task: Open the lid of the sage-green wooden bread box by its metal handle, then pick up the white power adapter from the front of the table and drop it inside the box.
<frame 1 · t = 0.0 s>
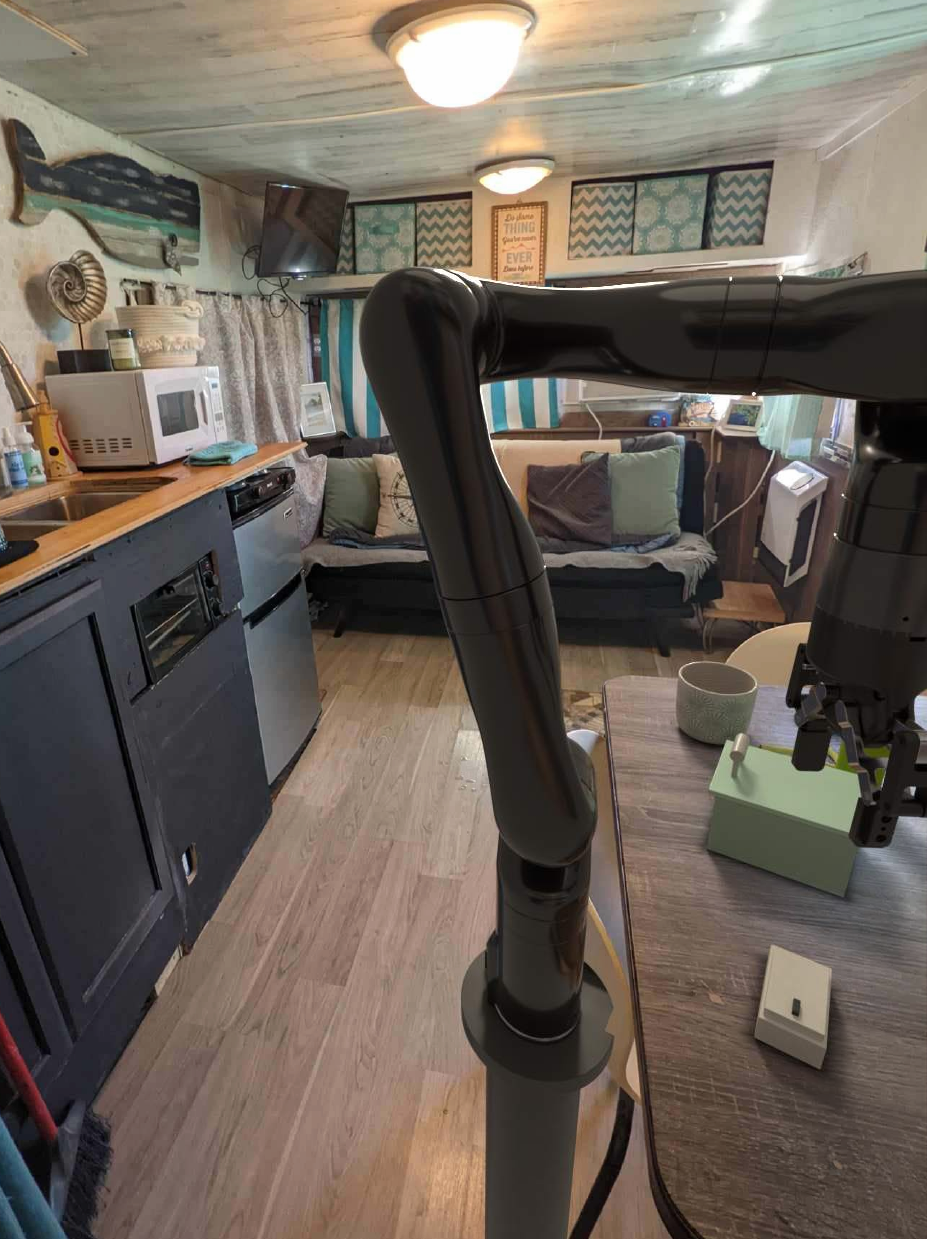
hand: (834, 803, 48), 33 cm above the table, tool pointing down, fingers open, 8 cm apart
lid: (788, 771, 85), point 11 cm above the table, hinge at 0.0°
vape: (850, 801, 96), on the table
white power adapter: (791, 1012, 66), on the table
utensil holder: (820, 725, 114), on the table
key: (800, 759, 105), on the table
planter: (709, 732, 114), on the table
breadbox: (777, 840, 89), on the table
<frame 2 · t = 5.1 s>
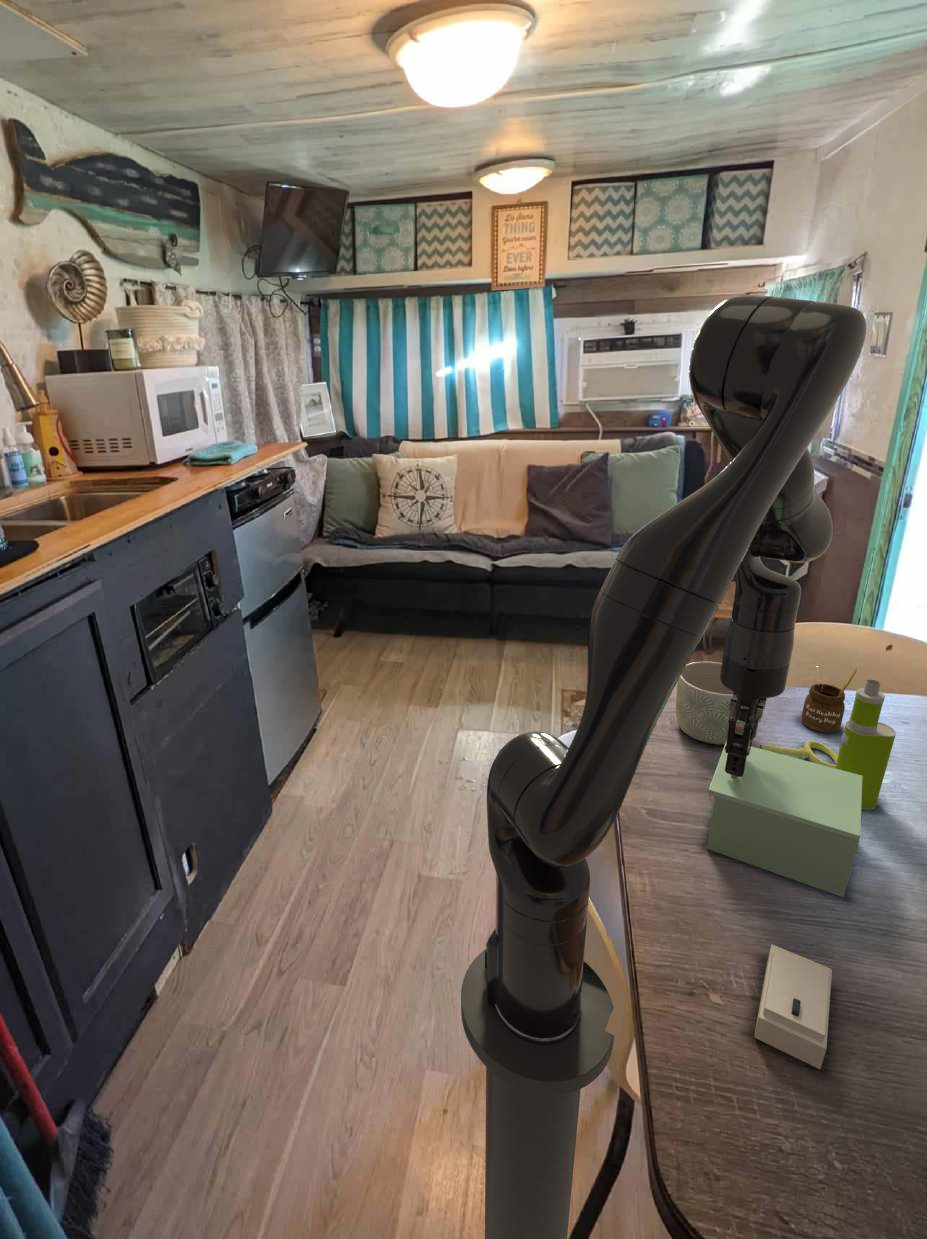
hand: (737, 762, 89), 11 cm above the table, tool pointing down, fingers closed on lid, 5 cm apart
lid: (788, 771, 85), point 11 cm above the table, hinge at -0.1°, touching gripper
everything else where it was.
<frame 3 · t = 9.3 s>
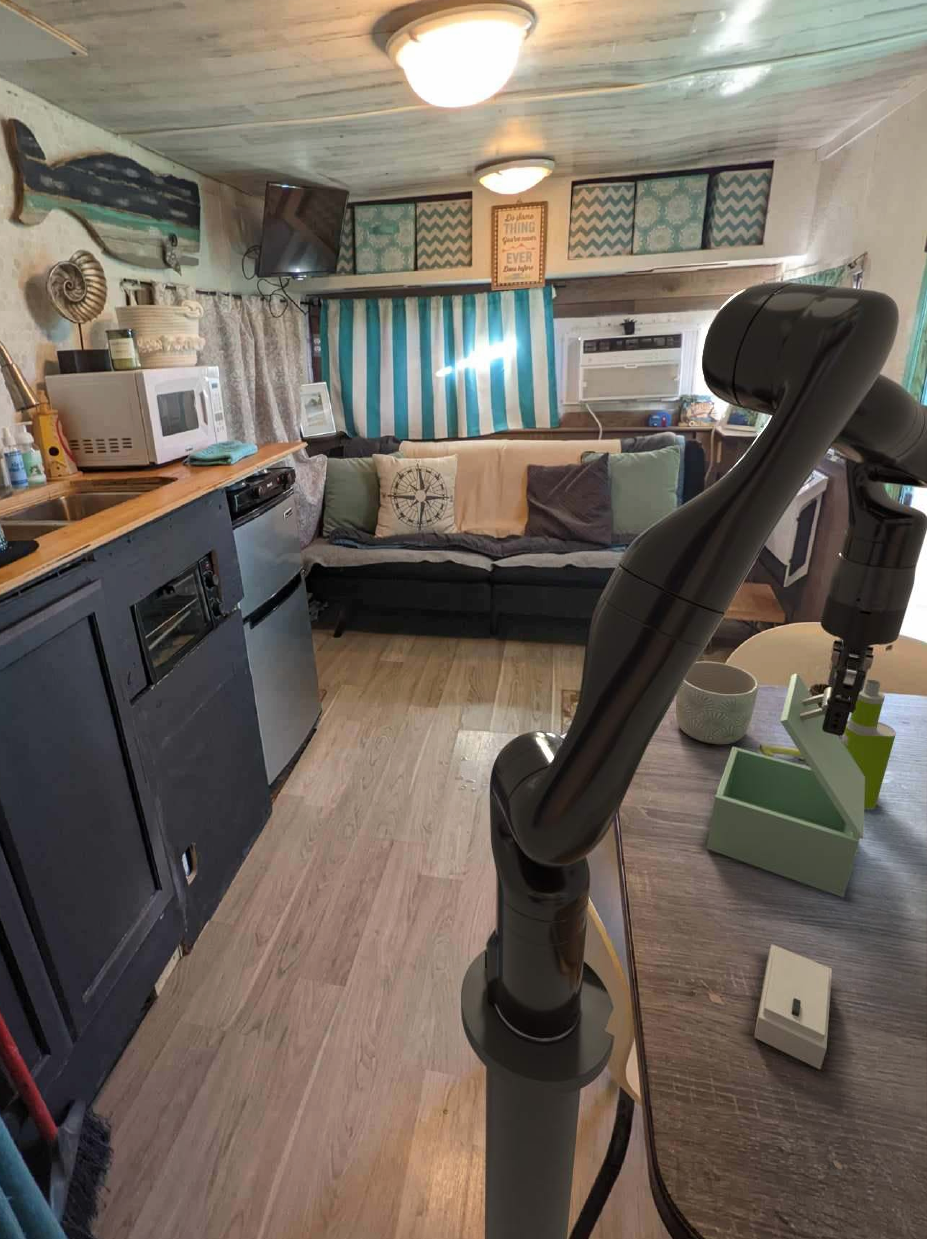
hand: (833, 721, 80), 20 cm above the table, tool pointing down, fingers closed on lid, 5 cm apart
lid: (843, 746, 80), point 17 cm above the table, hinge at 53.5°, touching gripper
everything else where it was.
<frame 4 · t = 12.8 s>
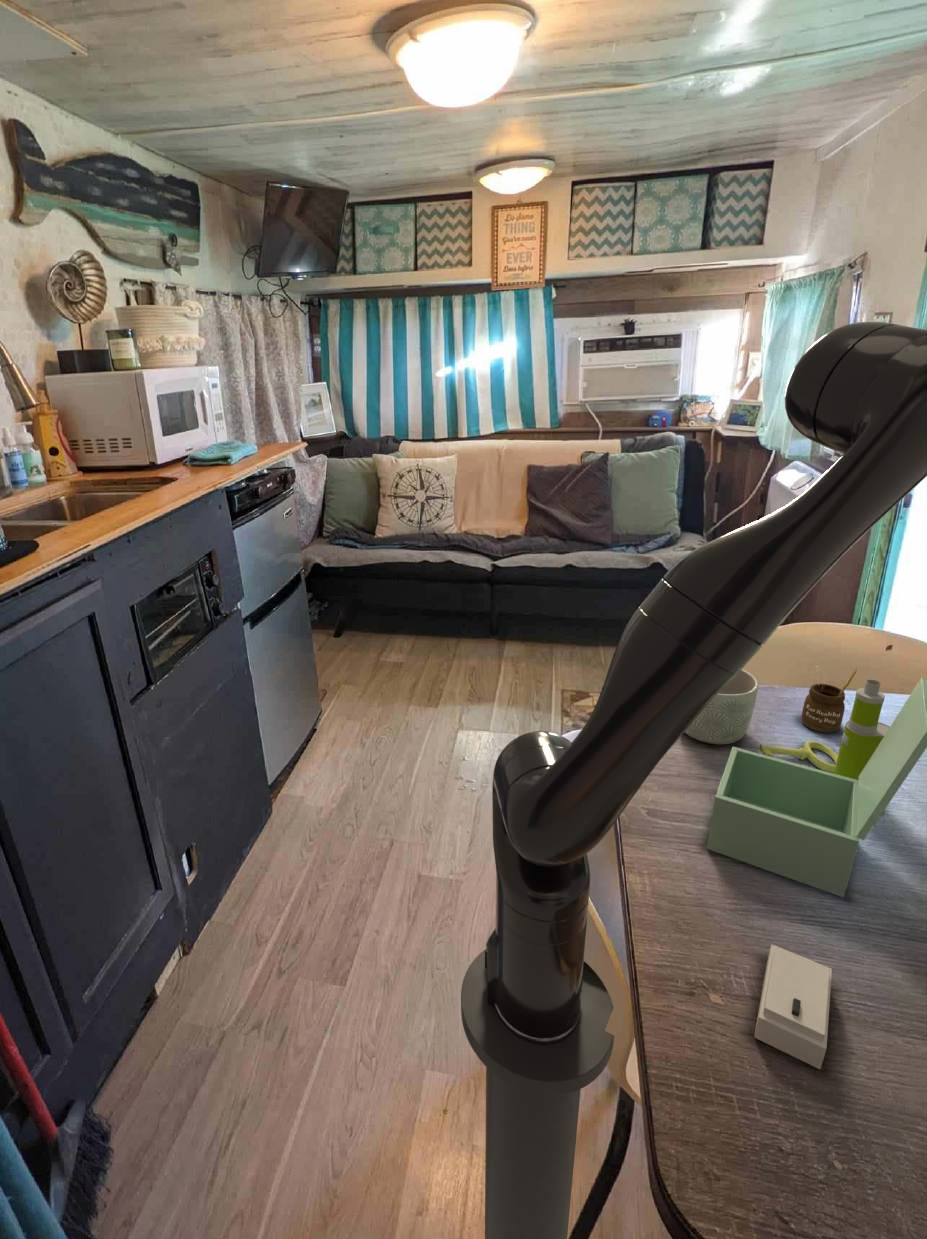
lid: (914, 766, 76), point 17 cm above the table, hinge at 102.1°, touching gripper
everything else where it was.
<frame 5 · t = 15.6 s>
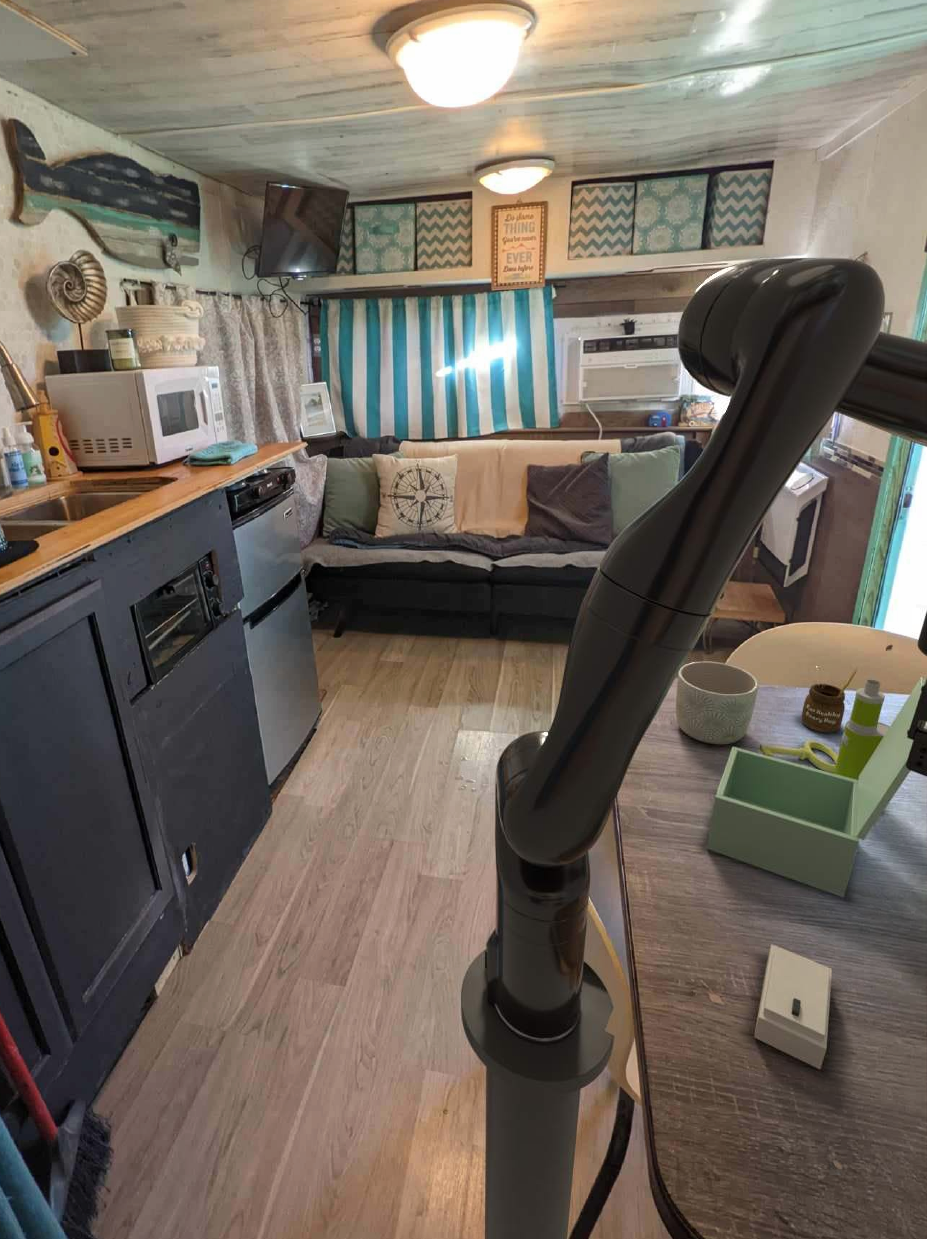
lid: (914, 766, 76), point 17 cm above the table, hinge at 102.0°
everything else where it was.
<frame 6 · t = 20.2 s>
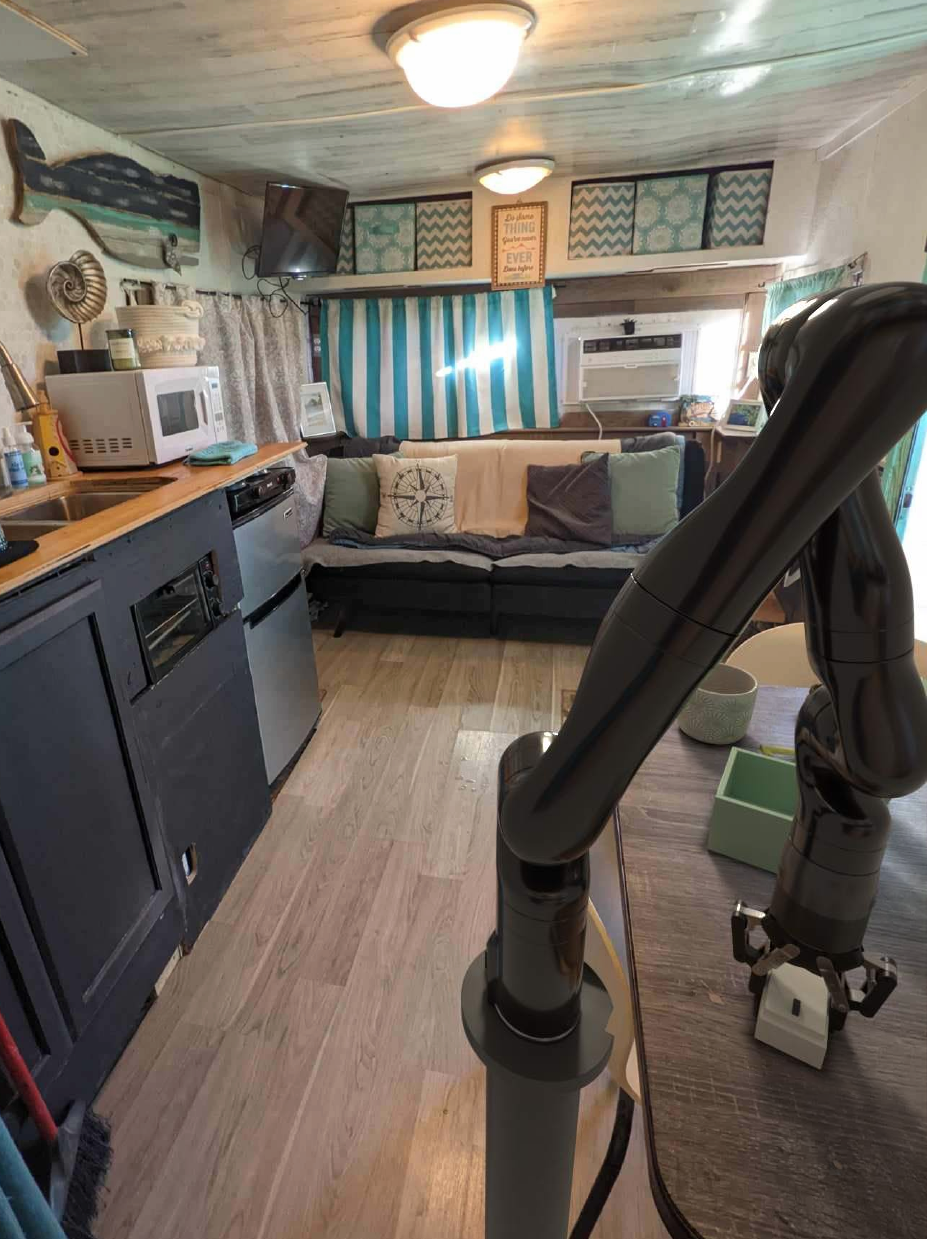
hand: (792, 1009, 66), 1 cm above the table, tool pointing down, fingers closed on white power adapter, 5 cm apart
white power adapter: (791, 1012, 66), on the table, touching gripper
everything else where it was.
when the fingers open (7 cm above the table, at t = 30.1 s): white power adapter drops 6 cm, resting on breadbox.
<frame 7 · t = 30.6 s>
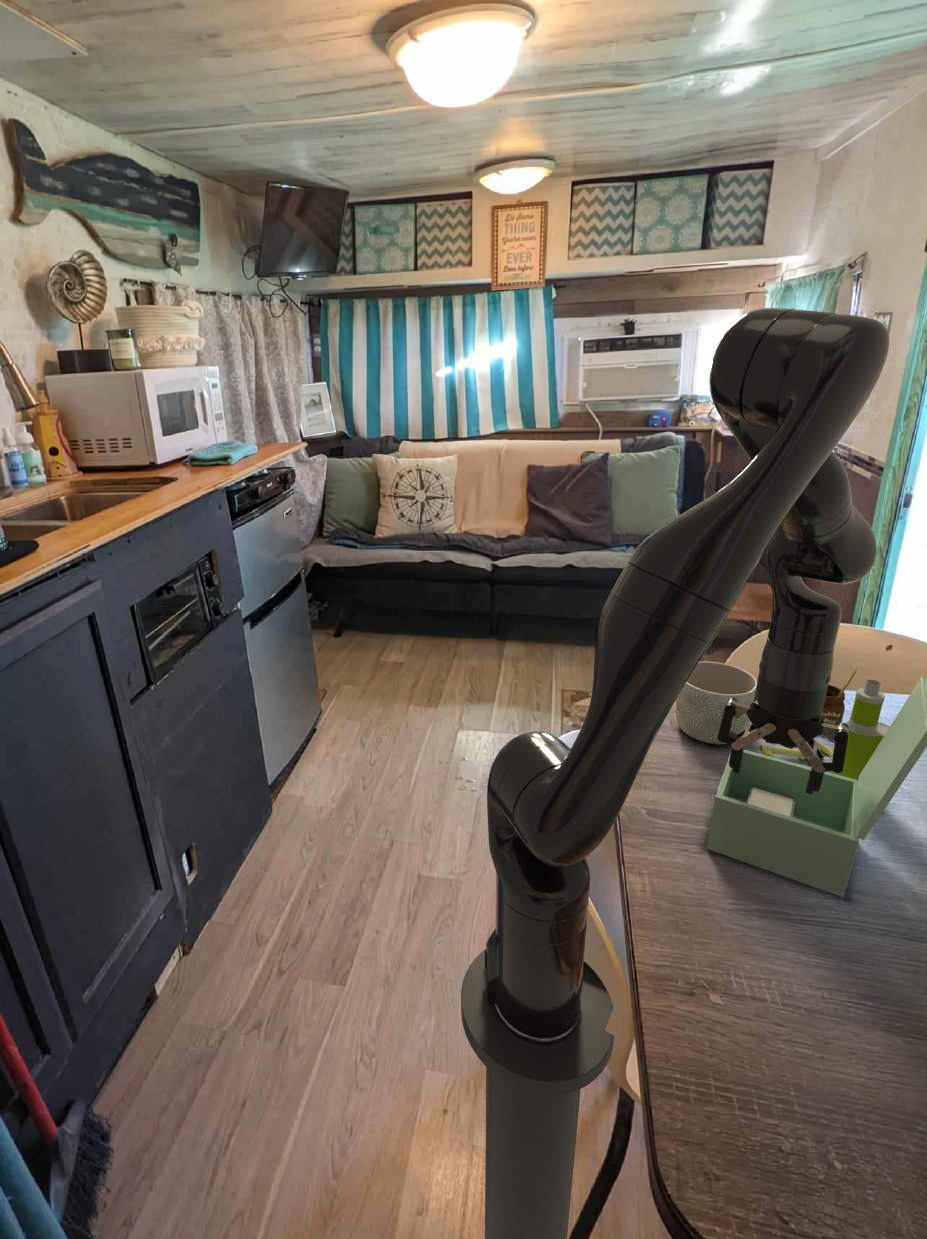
hand: (771, 780, 87), 9 cm above the table, tool pointing down, fingers open, 8 cm apart
white power adapter: (764, 831, 89), point 1 cm above the table, touching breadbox
everything else where it was.
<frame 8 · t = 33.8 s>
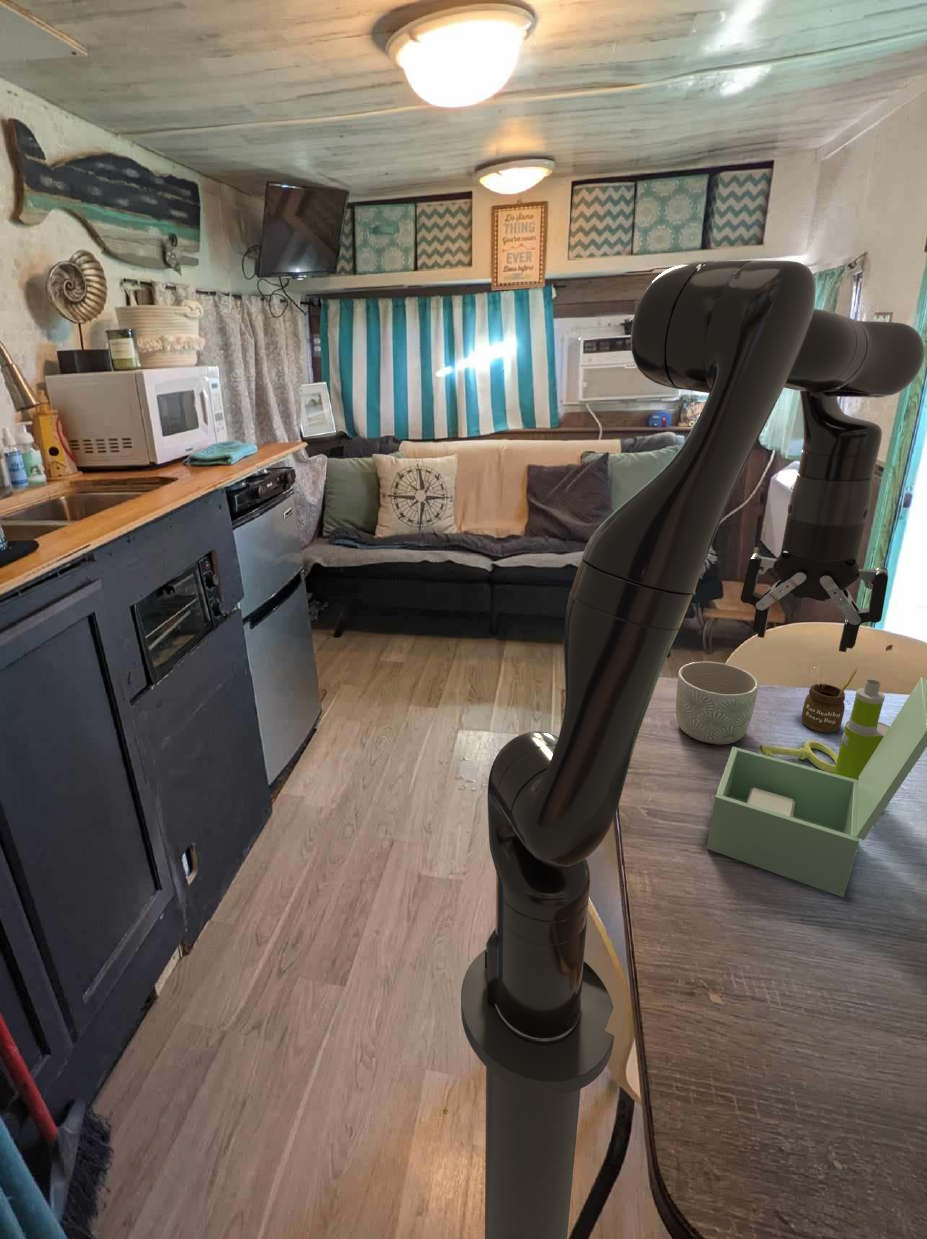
hand: (800, 642, 79), 30 cm above the table, tool pointing down, fingers open, 8 cm apart
nothing on the table moved.
at the end: lid at +102° (first picture: +0°); white power adapter inside the target area in the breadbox (1.7 cm from its centre), point 0.8 cm above the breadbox's base; the gripper is holding nothing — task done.
